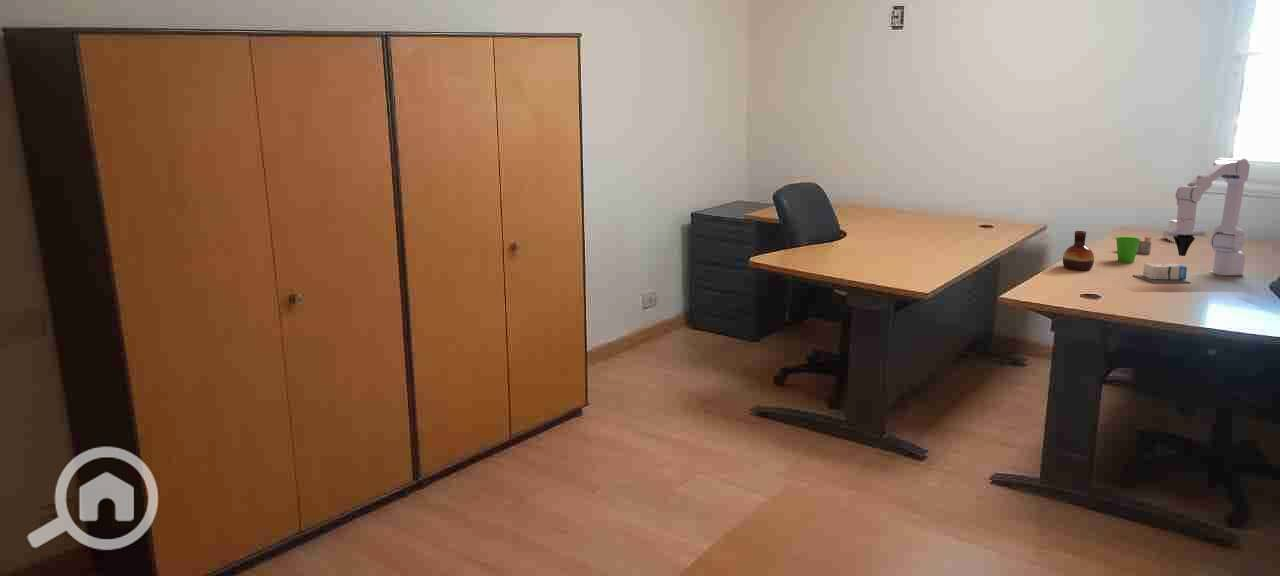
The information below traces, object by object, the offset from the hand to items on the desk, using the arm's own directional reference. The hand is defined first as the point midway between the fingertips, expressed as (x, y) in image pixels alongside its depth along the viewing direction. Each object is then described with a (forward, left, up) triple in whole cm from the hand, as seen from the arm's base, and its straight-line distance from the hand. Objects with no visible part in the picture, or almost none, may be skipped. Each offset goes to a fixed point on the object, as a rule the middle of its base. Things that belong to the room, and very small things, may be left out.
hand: (1182, 255), depth 334 cm
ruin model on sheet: (-9, -50, -10) cm, 51 cm away
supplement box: (-42, -74, -9) cm, 85 cm away
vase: (+28, -20, -9) cm, 36 cm away
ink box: (-1, 0, -6) cm, 6 cm away
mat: (+7, 0, -9) cm, 11 cm away
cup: (+3, -32, -9) cm, 33 cm away
